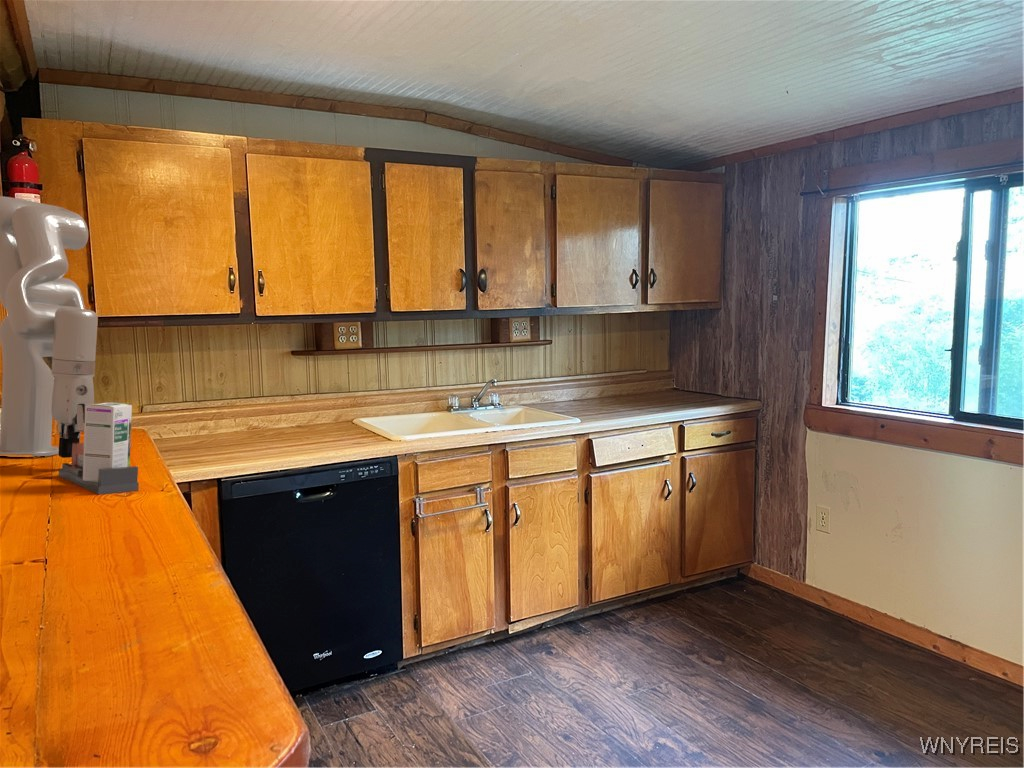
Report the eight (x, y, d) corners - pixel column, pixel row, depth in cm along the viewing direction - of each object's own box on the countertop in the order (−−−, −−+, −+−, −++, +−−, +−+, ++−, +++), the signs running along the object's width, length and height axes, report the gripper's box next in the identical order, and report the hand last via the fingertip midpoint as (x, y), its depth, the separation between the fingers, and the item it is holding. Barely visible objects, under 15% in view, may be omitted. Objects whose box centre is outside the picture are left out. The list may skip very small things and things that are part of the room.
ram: (71, 467, 140) (72, 443, 140) (89, 466, 143) (91, 442, 142) (89, 475, 134) (90, 450, 134) (108, 474, 137) (109, 448, 137)
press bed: (58, 476, 139) (59, 453, 139) (96, 472, 145) (97, 451, 145) (98, 494, 128) (99, 470, 127) (138, 490, 133) (139, 467, 133)
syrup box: (111, 483, 130) (115, 406, 129) (80, 480, 131) (84, 403, 130) (129, 478, 136) (133, 404, 135) (100, 475, 136) (104, 401, 136)
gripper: (108, 372, 142) (103, 462, 144) (79, 365, 152) (74, 449, 153) (67, 372, 136) (61, 464, 138) (39, 364, 146) (34, 451, 147)
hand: (68, 456), depth 145 cm, fingers closed
